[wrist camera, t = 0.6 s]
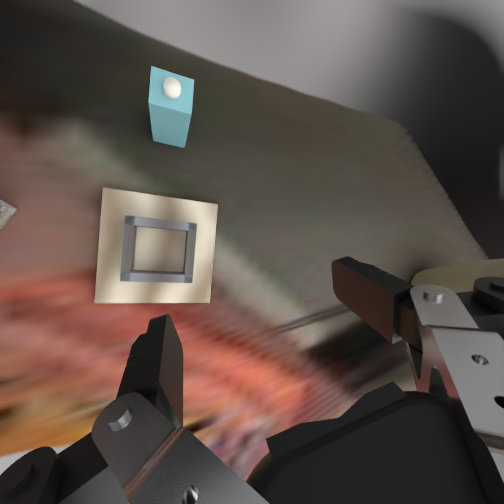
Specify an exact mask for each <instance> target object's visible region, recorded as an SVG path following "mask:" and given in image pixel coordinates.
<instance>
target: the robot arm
mask: <svg viewBox="0 0 504 504" xmlns="http://www.w3.org/2000/svg"><path fill="white" fill-rule="evenodd" d="M332 278H333V289H334V293H335V295H336V297H337V298H338V299H339V300H340V301H341V302H342V303H343V304H345V305H346V306H347V307H348V308H350V309H351V310H352V311H353V312H354V313H356V314H357V315H358V316H359V317H360V318H362V319H363V320H364V321H365V322H367V323H368V324H369V325H370V326H371V327H373V328H374V329H375V330H376V331H377V332H379V333H380V334H381V335H382V336H383V337H385V338H386V339H387V340H388V341H390V342H391V343H392V344H393V343H395V342H397V341H400V340H402V339H404V340H405V341H407V344H406V349H407V353H408V357H409V360H410V364H411V368H412V372H413V376H414V380H415V384H416V388H417V391H404V392H403V391H402V390H401V389H400V388H399V387H398V386H397V385H396V384H395V383H394V382H390V383H388V384H386V385H384V386H382V387H379V388H377V389H375V390H373V391H371V392H368V393H366V394H364V395H363V396H362V397H361V398H360V399H359V400H358V401H357V402H356V403H355V404H354V405H352V406H351V407H350V408H349V409H348V410H347V411H346V412H345V413H344V414H343V415H342V416H340V417H338V418H335V419H328V420H321V421H314V422H307V423H300V424H298V425H296V426H293V427H291V428H289V429H287V430H285V431H282V432H280V433H278V434H276V435H274V436H271V437H269V438H267V439H266V440H267V444H268V448H269V451H270V452H269V453H268V454H267V455H266V456H264V457H263V458H262V460H261V461H260V462H259V463H258V464H257V465H256V467H255V468H254V470H253V471H252V472H251V474H250V475H249V477H248V479H247V481H246V482H245V481H244V480H243V479H242V478H241V477H240V476H238V475H237V474H236V473H235V472H234V471H233V470H232V469H231V468H230V467H229V466H227V465H226V464H225V463H224V462H223V461H222V460H221V459H220V458H219V457H217V456H216V455H215V454H214V453H213V452H212V451H211V450H210V449H209V448H208V447H206V446H205V445H204V444H203V443H202V442H201V441H200V440H199V439H198V438H197V437H195V436H194V435H193V434H192V433H191V432H190V431H189V430H188V429H186V428H185V427H183V349H182V345H181V342H180V339H179V336H178V334H177V332H176V329H175V327H174V324H173V322H172V319H171V317H170V315H169V314H165V315H162V316H159V317H156V318H153V319H150V321H149V325H148V330H147V333H145V334H142V335H140V336H139V337H138V338H137V339H136V341H135V342H134V343H133V345H132V347H131V351H130V354H129V358H128V361H127V364H126V365H127V366H126V367H125V371H124V374H123V377H122V381H121V384H120V387H119V390H118V394H117V397H116V399H115V400H114V401H112V402H111V403H110V404H109V405H108V406H107V407H105V409H104V410H103V411H102V412H101V413H100V414H99V416H98V417H97V419H96V421H95V423H94V425H93V428H92V432H90V433H89V434H87V435H86V436H85V437H83V438H82V439H80V440H79V441H77V442H75V443H74V444H72V445H71V446H69V447H68V448H66V449H65V450H63V451H62V452H60V453H59V454H57V453H56V452H55V451H54V450H53V449H52V448H51V447H40V448H37V449H35V450H33V451H31V452H29V453H27V454H25V455H24V456H22V457H21V458H20V459H18V460H17V461H15V462H14V463H13V464H12V465H11V466H10V467H8V468H7V469H6V470H5V471H4V472H3V473H2V474H1V475H0V504H128V503H130V504H504V278H501V277H482V278H478V279H476V280H475V281H474V286H473V291H469V292H460V293H454V292H453V291H451V290H449V289H447V288H445V287H441V286H437V285H428V284H426V285H418V286H413V285H411V284H409V283H407V282H405V281H403V280H401V279H399V278H397V277H395V276H393V275H391V274H389V273H387V272H385V271H383V270H382V271H381V269H379V268H377V267H375V266H373V265H370V264H366V263H361V262H359V261H357V260H355V259H353V258H351V257H348V256H347V257H344V258H340V259H337V260H334V261H333V262H332Z"/></svg>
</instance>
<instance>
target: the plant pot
mask: <svg viewBox="0 0 504 504" xmlns="http://www.w3.org/2000/svg"><path fill="white" fill-rule="evenodd" d="M482 277H501V278H504V259H494V260H482V261H473V262H465V263H458V264H451V265H446V266H440V267H436V268H431V269H427V270H423V271H420V272H418V273H417V274H416V275H415V276H414V277H413V279H412V281H411V285H413V286H418V285H426V284H428V285H437V286H441V287H445V288H447V289H449V290H451V291H453V292H454V293H460V292H469V291H473V286H474V281H475V280H476V279H478V278H482Z"/></svg>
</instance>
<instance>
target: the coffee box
mask: <svg viewBox="0 0 504 504" xmlns="http://www.w3.org/2000/svg"><path fill="white" fill-rule="evenodd" d="M16 210H17V209H16V208H15V207H13V206H11V205H9V204H7V203H6V202H4V201H2V200H0V229H1V228H2V227H3V226H4V225H5V223H6V222H7V221H8V220H9V219H10V218H11V216H12V215H13V214H14V213H15V212H16Z"/></svg>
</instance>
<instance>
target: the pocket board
mask: <svg viewBox="0 0 504 504" xmlns="http://www.w3.org/2000/svg"><path fill="white" fill-rule="evenodd" d="M217 209H218V204H212V203H205V202H198V201H191V200H185V199H178V198H171V197H164V196H158V195H151V194H144V193H137V192H131V191H124V190H117V189H110V188H104V187H103V193H102V207H101V221H100V234H99V248H98V261H97V275H96V288H95V302H94V303H210V294H211V282H212V270H213V257H214V245H215V233H216V221H217Z"/></svg>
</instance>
